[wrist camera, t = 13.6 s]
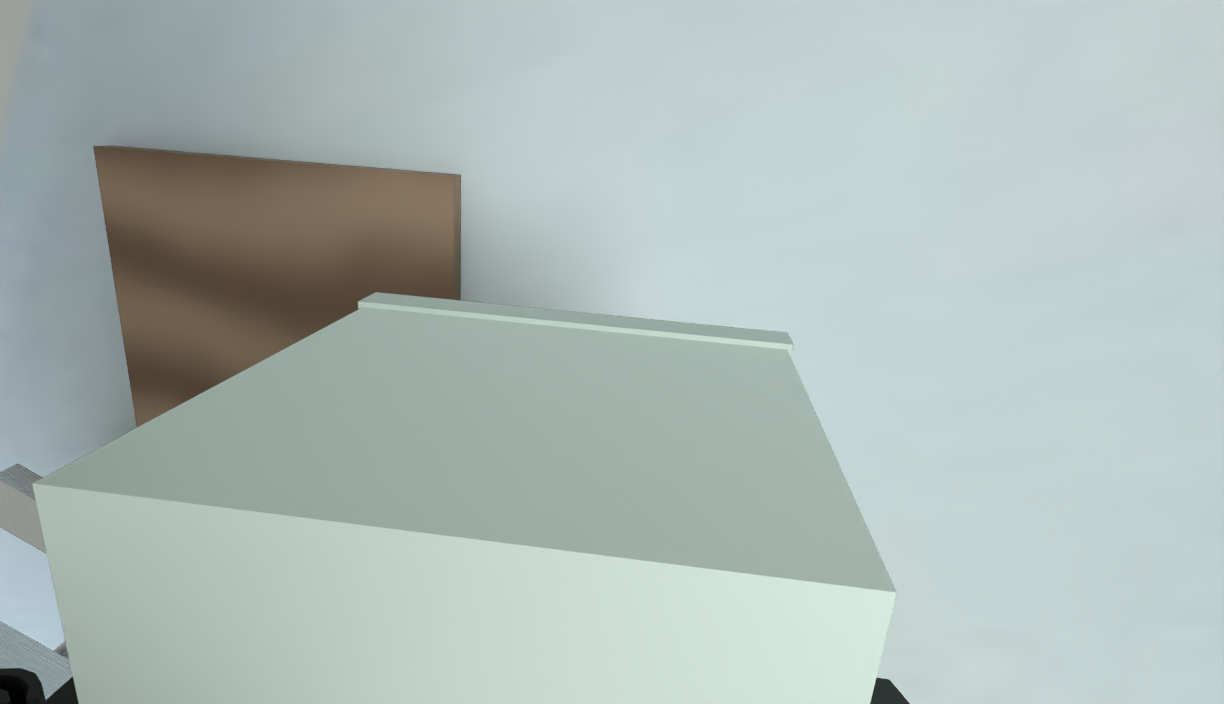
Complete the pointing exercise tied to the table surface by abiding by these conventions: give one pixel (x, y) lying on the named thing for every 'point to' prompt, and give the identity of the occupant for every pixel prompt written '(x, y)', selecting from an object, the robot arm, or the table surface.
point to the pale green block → (475, 524)
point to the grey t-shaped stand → (16, 511)
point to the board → (259, 256)
